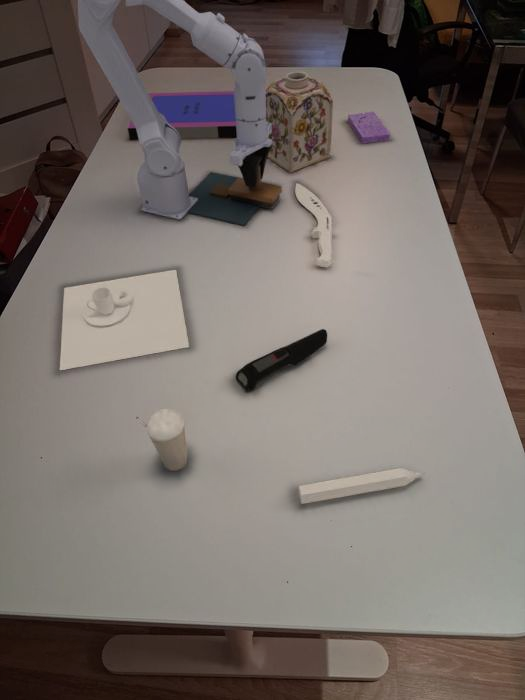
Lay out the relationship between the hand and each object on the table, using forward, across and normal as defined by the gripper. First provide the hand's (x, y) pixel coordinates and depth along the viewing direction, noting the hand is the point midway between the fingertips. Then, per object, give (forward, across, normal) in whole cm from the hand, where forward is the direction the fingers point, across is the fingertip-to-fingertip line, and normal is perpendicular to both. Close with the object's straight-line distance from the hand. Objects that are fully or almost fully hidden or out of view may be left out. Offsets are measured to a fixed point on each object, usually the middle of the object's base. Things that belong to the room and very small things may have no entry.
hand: (254, 182), depth 109 cm
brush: (+4, 0, 0) cm, 4 cm away
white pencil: (+5, -55, -40) cm, 68 cm away
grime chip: (+4, 0, +8) cm, 9 cm away
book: (+5, +30, +31) cm, 43 cm away
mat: (+4, -1, +6) cm, 8 cm away
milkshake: (+5, -61, -16) cm, 63 cm away
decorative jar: (+5, +21, -1) cm, 22 cm away
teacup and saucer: (+5, -40, +6) cm, 41 cm away
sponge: (+5, +39, -13) cm, 41 cm away
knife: (+5, -3, -14) cm, 15 cm away
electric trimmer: (+5, -40, -23) cm, 46 cm away
